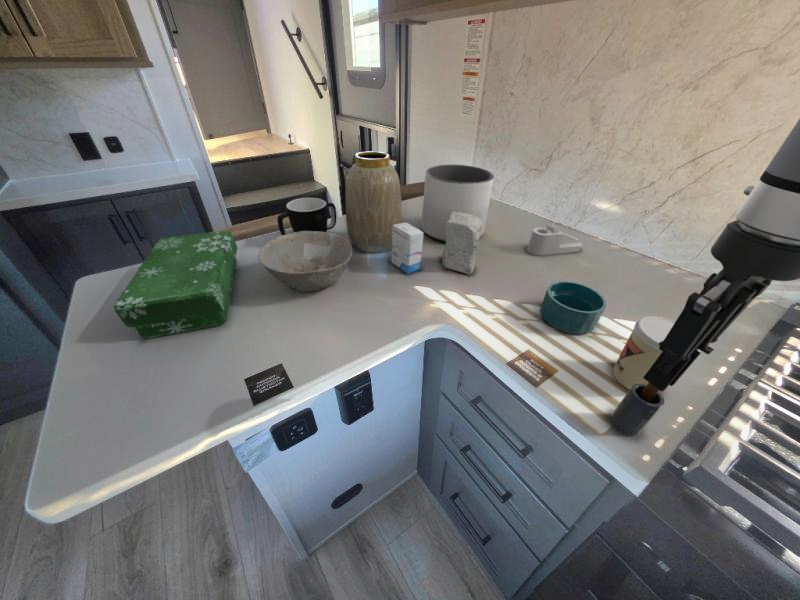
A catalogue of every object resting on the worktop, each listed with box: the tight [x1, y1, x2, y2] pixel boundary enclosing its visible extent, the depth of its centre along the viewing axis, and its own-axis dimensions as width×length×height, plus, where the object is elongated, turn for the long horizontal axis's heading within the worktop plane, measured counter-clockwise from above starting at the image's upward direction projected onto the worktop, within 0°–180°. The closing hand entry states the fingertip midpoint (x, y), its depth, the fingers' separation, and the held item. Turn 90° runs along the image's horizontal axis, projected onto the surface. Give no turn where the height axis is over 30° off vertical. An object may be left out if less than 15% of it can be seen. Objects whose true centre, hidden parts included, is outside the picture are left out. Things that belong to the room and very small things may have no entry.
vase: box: [344, 151, 402, 254], centre depth 96 cm, size 17×17×27 cm
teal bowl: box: [539, 280, 607, 335], centre depth 73 cm, size 12×12×6 cm
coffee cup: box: [613, 315, 701, 391], centre depth 57 cm, size 9×9×12 cm
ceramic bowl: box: [257, 231, 353, 293], centre depth 81 cm, size 22×23×10 cm
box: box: [113, 230, 238, 339], centre depth 76 cm, size 32×18×10 cm, turn 17°
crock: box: [609, 384, 665, 437], centre depth 50 cm, size 4×4×8 cm
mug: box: [277, 197, 337, 236], centre depth 101 cm, size 16×16×12 cm
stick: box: [638, 382, 661, 403], centre depth 46 cm, size 2×2×20 cm
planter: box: [421, 164, 495, 243], centre depth 107 cm, size 22×22×20 cm
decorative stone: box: [441, 211, 483, 276], centre depth 89 cm, size 10×9×15 cm
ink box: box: [391, 222, 424, 275], centre depth 89 cm, size 9×5×12 cm, turn 36°
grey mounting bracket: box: [526, 223, 582, 256], centre depth 101 cm, size 6×18×8 cm, turn 103°
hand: (658, 380), depth 46 cm, fingers closed on stick, 1 cm apart
